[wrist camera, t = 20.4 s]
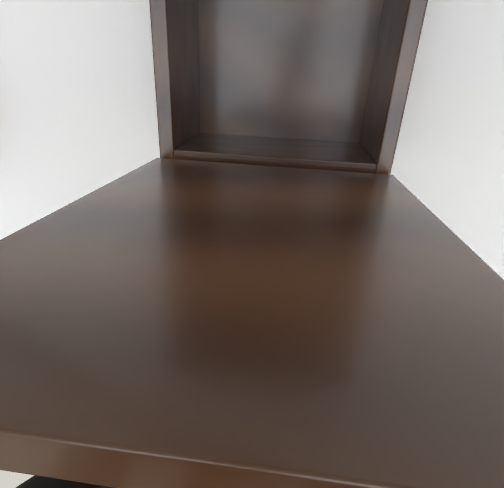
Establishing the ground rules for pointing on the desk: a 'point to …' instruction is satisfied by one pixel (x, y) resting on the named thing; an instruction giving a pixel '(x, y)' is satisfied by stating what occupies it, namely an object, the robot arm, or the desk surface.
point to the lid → (250, 336)
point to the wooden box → (284, 80)
